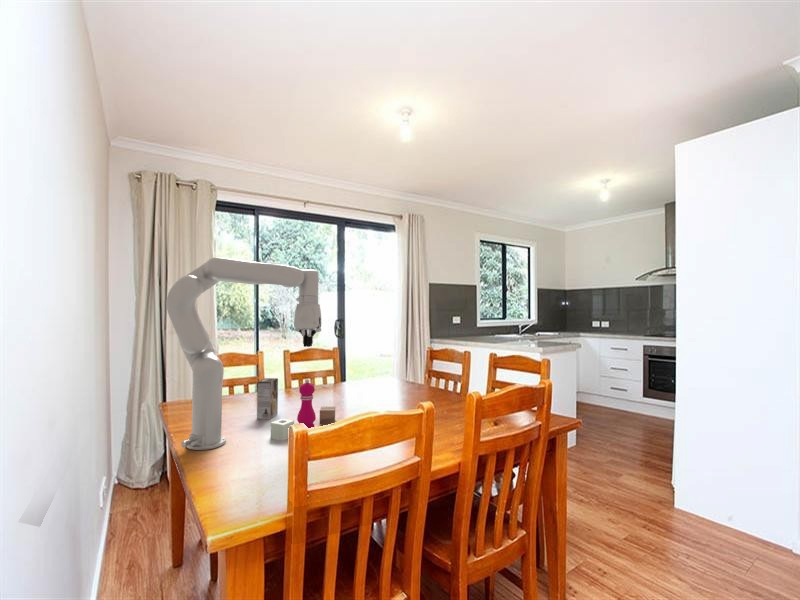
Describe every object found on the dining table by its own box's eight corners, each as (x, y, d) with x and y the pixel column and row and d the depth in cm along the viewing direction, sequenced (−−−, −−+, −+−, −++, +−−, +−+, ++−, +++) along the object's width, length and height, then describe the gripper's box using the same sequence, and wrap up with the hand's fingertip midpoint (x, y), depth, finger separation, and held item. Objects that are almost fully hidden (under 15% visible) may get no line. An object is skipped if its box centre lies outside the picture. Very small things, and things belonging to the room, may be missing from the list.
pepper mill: (310, 432, 156) (311, 381, 156) (293, 431, 157) (294, 380, 157) (318, 427, 163) (319, 377, 163) (301, 425, 164) (302, 377, 164)
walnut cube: (334, 424, 167) (334, 410, 167) (319, 424, 166) (319, 410, 166) (335, 420, 173) (335, 406, 173) (321, 420, 172) (321, 406, 172)
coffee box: (263, 413, 182) (264, 377, 182) (277, 413, 182) (278, 378, 182) (256, 419, 172) (256, 381, 173) (270, 419, 172) (271, 382, 172)
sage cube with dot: (283, 440, 146) (283, 424, 146) (270, 438, 149) (270, 422, 149) (294, 436, 152) (294, 420, 152) (281, 433, 154) (281, 418, 154)
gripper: (286, 300, 159) (285, 346, 159) (321, 300, 155) (320, 348, 155) (296, 300, 166) (295, 344, 166) (330, 300, 162) (329, 346, 162)
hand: (307, 346), depth 160 cm, fingers closed
